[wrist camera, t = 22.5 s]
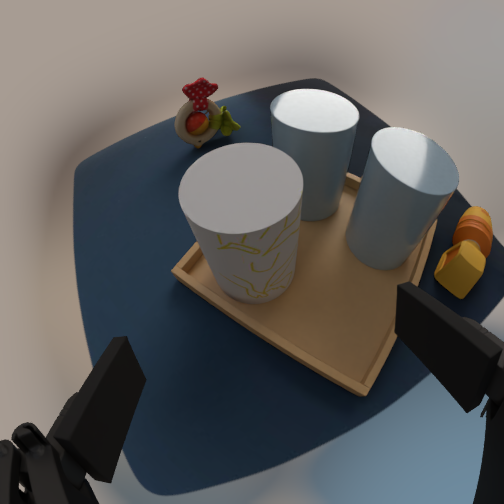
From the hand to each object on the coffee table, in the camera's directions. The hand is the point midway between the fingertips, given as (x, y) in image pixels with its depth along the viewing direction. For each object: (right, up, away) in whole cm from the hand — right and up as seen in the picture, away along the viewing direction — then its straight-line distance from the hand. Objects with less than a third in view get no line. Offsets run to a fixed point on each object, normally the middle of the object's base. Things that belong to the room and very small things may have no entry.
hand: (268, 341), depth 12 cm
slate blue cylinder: (+6, +11, +20) cm, 23 cm away
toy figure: (+25, +4, +15) cm, 29 cm away
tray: (+6, +4, +17) cm, 18 cm away
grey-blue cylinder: (+13, +6, +16) cm, 22 cm away
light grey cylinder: (0, +3, +16) cm, 16 cm away
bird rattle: (-7, +21, +28) cm, 36 cm away
